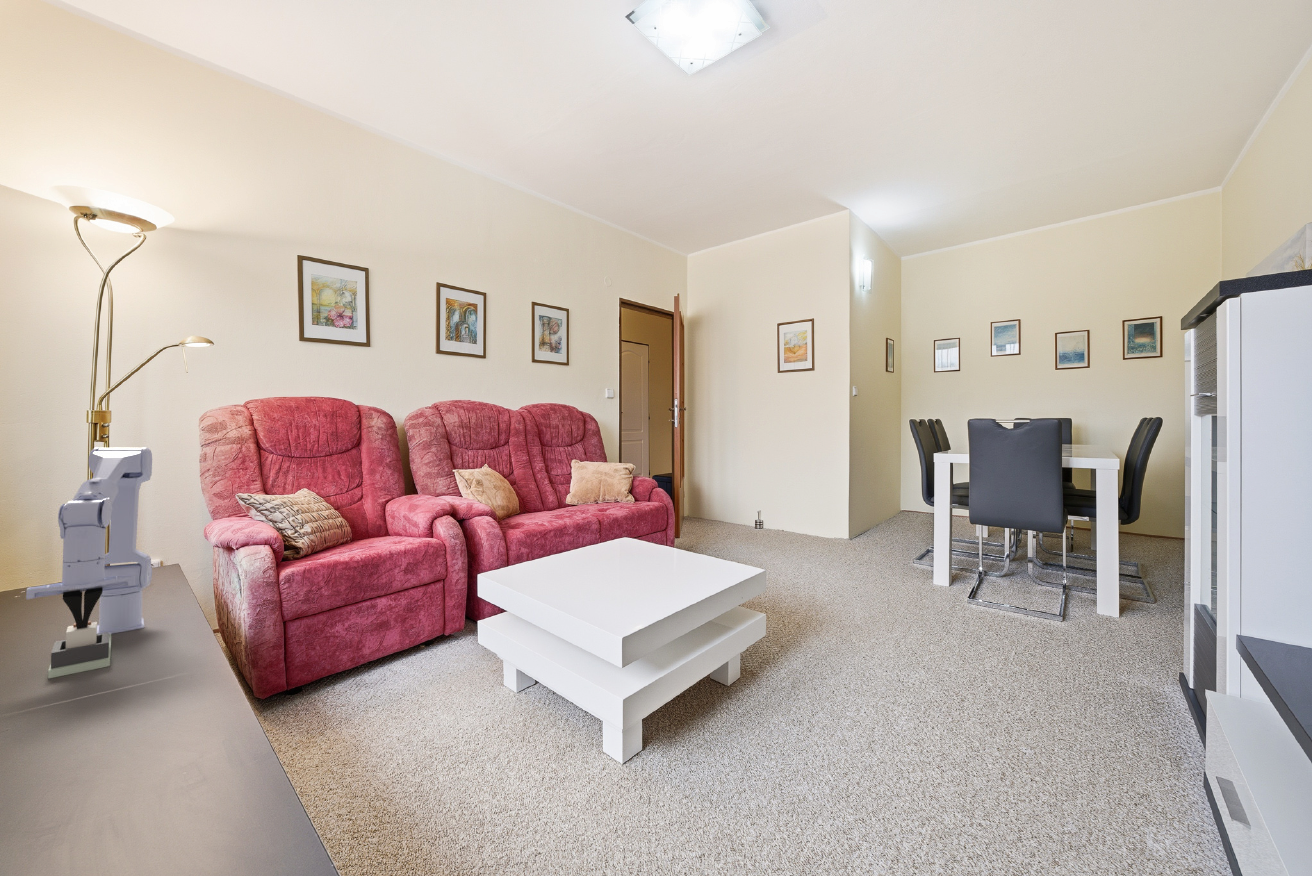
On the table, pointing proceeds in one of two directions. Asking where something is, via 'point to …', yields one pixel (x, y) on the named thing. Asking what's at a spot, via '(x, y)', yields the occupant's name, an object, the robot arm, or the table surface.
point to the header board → (80, 657)
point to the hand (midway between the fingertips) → (82, 627)
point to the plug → (81, 635)
